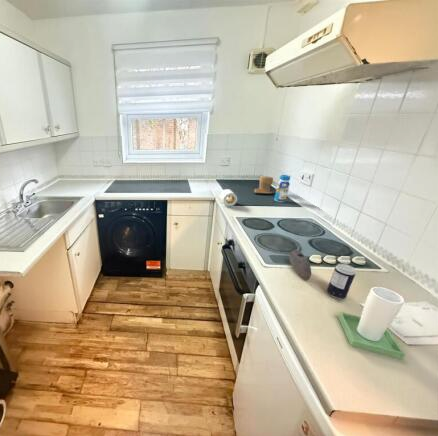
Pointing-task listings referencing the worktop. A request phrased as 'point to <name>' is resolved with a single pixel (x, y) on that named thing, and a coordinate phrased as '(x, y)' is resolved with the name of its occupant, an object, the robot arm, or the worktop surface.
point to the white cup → (379, 312)
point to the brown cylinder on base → (264, 185)
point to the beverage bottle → (282, 188)
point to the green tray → (383, 346)
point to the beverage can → (341, 281)
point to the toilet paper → (231, 200)
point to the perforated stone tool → (300, 264)
